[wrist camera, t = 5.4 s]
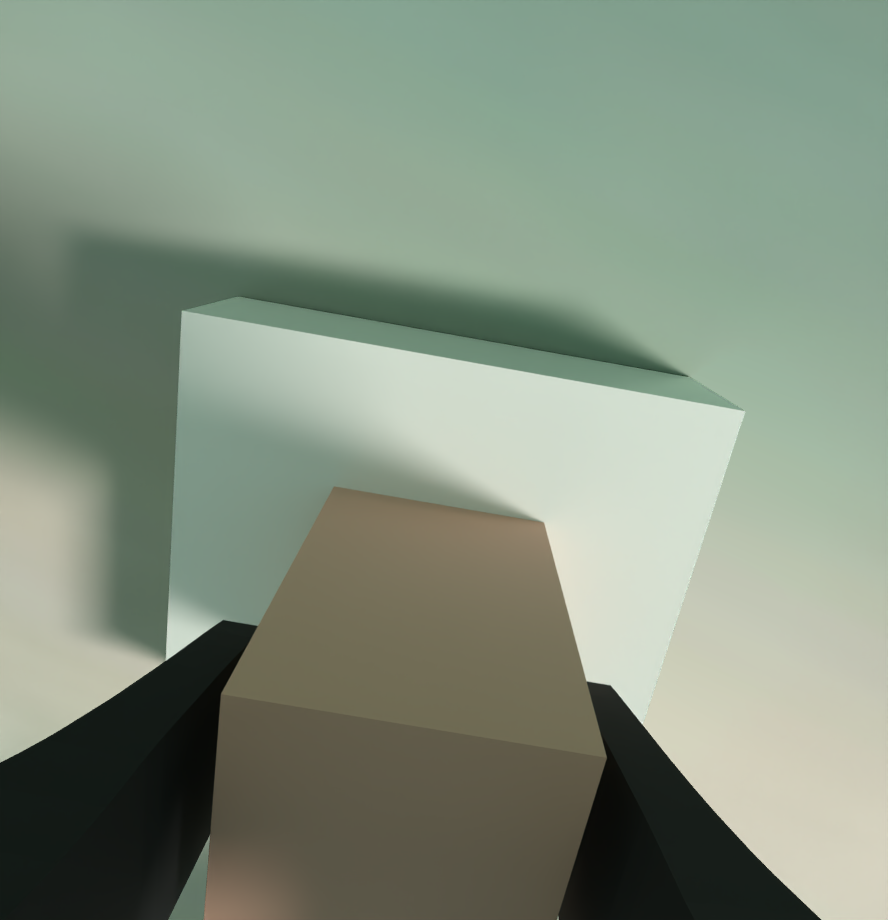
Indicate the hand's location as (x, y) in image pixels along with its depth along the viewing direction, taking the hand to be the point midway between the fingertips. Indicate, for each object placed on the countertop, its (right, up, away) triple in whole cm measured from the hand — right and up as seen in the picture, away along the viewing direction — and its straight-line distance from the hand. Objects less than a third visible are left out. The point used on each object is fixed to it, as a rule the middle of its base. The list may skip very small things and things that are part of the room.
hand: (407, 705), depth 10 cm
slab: (0, +2, +6) cm, 6 cm away
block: (0, +1, +3) cm, 3 cm away
